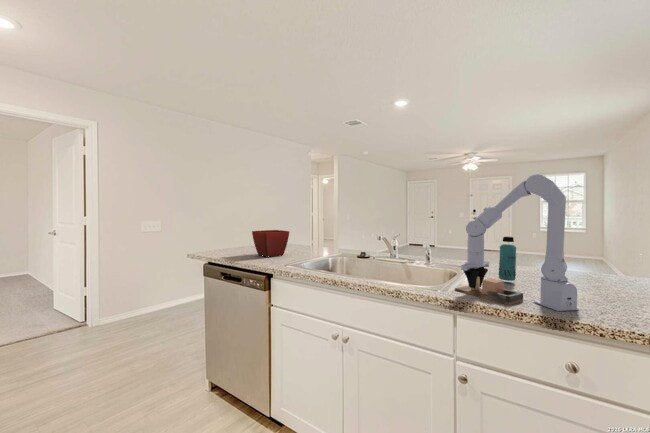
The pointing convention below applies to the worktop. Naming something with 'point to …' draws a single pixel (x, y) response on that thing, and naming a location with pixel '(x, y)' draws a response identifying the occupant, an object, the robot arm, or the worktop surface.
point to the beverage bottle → (507, 260)
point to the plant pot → (270, 242)
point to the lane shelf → (495, 295)
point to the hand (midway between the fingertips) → (475, 287)
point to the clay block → (489, 285)
